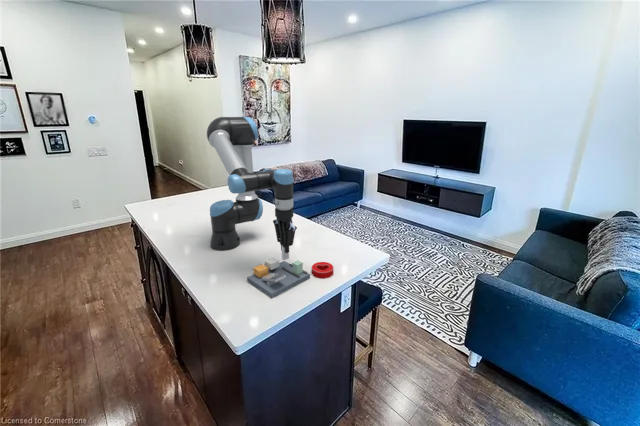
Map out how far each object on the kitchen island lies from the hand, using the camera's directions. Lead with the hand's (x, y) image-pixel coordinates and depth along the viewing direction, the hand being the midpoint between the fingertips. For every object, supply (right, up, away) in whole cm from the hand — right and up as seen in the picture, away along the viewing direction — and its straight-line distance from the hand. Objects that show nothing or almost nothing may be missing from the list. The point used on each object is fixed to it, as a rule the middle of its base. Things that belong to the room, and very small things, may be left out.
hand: (285, 258), depth 128 cm
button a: (-10, -6, -5) cm, 12 cm away
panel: (-2, -8, -5) cm, 10 cm away
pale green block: (+6, -5, -3) cm, 9 cm away
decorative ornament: (+16, -7, +1) cm, 18 cm away
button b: (-5, -3, -2) cm, 7 cm away
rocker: (-3, -6, -12) cm, 13 cm away
